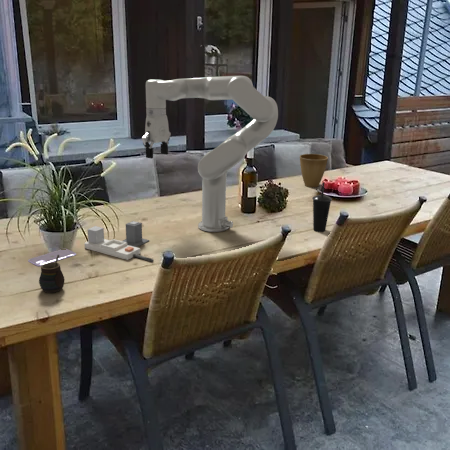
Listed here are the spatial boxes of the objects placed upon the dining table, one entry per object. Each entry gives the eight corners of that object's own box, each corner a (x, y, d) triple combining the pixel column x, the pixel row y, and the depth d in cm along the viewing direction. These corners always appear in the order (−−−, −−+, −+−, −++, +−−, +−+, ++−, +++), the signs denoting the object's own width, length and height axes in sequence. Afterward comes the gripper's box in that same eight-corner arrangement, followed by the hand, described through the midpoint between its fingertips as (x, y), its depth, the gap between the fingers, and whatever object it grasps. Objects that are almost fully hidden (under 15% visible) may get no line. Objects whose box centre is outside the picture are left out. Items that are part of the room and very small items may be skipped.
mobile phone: (77, 252, 181) (38, 265, 171) (77, 255, 182) (38, 267, 171) (65, 247, 186) (26, 258, 175) (65, 249, 186) (26, 261, 176)
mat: (149, 241, 195) (149, 240, 195) (135, 247, 189) (135, 246, 189) (132, 236, 199) (132, 236, 199) (118, 243, 193) (118, 242, 192)
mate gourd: (34, 293, 153) (31, 262, 150) (48, 283, 160) (45, 253, 157) (57, 296, 151) (54, 264, 148) (69, 285, 158) (67, 255, 155)
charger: (142, 240, 195) (141, 222, 192) (135, 243, 191) (134, 225, 189) (133, 238, 197) (132, 220, 194) (126, 241, 193) (125, 223, 191)
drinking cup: (330, 228, 214) (334, 181, 207) (327, 234, 207) (331, 186, 200) (311, 226, 216) (315, 179, 209) (308, 231, 209) (312, 184, 202)
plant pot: (294, 182, 285) (296, 153, 280) (320, 182, 287) (323, 153, 282) (301, 189, 271) (303, 159, 266) (328, 189, 273) (331, 159, 268)
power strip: (159, 258, 180) (159, 239, 177) (146, 265, 174) (146, 246, 172) (98, 242, 193) (97, 224, 191) (84, 248, 187) (83, 230, 185)
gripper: (150, 115, 192) (151, 160, 197) (176, 111, 206) (177, 153, 212) (134, 113, 195) (135, 158, 201) (161, 109, 210) (162, 151, 215)
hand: (157, 155), depth 206 cm, fingers open, 9 cm apart
